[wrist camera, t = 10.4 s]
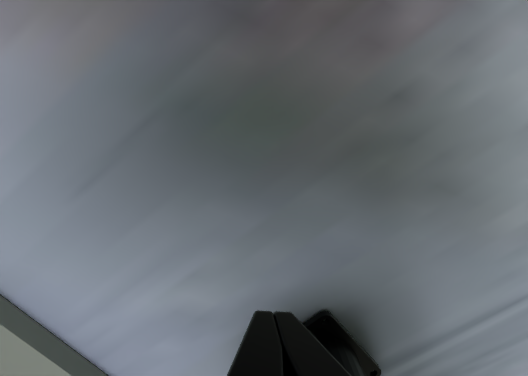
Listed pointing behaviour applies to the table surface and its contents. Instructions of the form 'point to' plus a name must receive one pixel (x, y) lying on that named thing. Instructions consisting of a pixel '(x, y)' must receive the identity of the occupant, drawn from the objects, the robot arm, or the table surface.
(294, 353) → the robot arm
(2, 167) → the table surface
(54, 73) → the table surface
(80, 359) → the slate base
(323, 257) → the table surface
